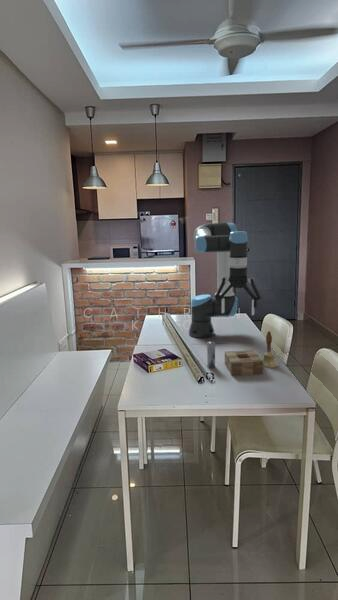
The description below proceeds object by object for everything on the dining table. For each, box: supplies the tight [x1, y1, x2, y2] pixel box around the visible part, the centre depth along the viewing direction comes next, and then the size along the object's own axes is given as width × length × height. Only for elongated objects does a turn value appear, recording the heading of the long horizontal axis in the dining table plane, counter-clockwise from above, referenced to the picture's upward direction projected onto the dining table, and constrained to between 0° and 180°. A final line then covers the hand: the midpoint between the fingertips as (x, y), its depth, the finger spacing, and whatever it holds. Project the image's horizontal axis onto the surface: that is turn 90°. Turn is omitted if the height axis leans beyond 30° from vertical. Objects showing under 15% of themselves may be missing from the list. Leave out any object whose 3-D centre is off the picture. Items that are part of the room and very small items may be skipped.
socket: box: [224, 349, 264, 377], centre depth 167 cm, size 14×14×6 cm
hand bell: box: [262, 331, 279, 369], centre depth 170 cm, size 8×8×16 cm
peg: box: [206, 340, 216, 369], centre depth 170 cm, size 4×4×12 cm
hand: (237, 313), depth 166 cm, fingers open, 13 cm apart
